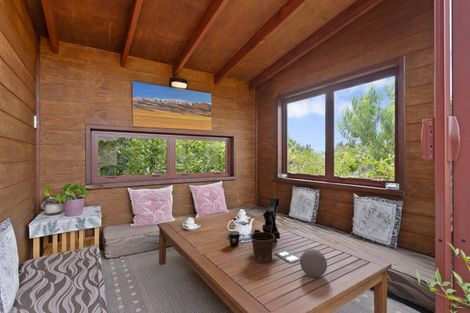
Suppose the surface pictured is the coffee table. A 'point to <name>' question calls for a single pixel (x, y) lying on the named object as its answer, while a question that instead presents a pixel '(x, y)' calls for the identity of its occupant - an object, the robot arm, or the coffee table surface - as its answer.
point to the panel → (288, 256)
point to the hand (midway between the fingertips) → (265, 245)
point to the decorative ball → (313, 263)
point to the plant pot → (262, 246)
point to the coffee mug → (234, 238)
